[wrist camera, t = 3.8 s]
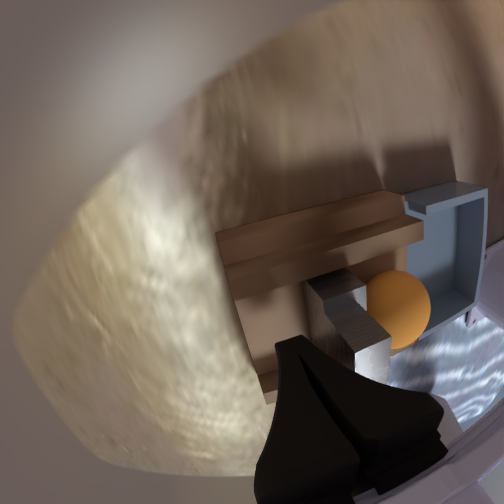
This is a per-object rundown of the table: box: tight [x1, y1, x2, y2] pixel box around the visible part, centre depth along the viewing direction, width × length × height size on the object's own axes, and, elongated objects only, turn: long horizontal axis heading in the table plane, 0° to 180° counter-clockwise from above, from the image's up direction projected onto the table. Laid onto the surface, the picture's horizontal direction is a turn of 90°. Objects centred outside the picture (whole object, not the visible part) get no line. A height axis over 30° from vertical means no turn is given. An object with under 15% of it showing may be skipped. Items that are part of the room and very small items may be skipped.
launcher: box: [215, 190, 424, 404], centre depth 15 cm, size 10×10×4 cm
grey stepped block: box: [303, 267, 392, 384], centre depth 12 cm, size 2×5×5 cm, turn 13°
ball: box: [365, 270, 431, 349], centre depth 13 cm, size 4×4×4 cm
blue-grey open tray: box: [400, 181, 488, 341], centre depth 16 cm, size 7×9×3 cm
